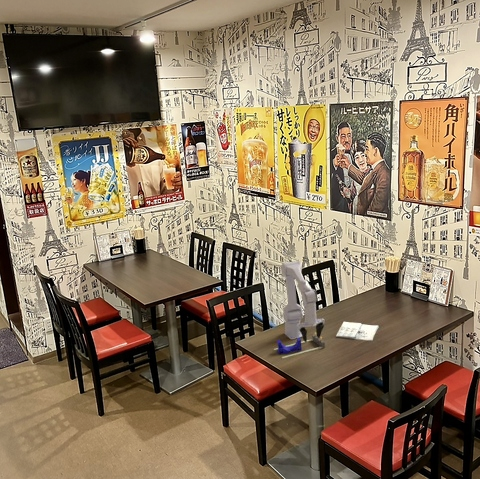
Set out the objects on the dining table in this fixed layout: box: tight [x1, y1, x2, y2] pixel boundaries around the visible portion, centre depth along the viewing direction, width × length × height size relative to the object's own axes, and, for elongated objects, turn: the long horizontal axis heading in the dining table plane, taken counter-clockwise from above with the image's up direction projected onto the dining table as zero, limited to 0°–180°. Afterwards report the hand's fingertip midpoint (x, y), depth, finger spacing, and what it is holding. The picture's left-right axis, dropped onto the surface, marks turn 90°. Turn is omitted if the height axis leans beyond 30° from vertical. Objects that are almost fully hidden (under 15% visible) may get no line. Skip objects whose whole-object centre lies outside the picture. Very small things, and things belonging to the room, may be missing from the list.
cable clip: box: [277, 337, 303, 355], centre depth 258 cm, size 12×4×6 cm, turn 92°
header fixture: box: [273, 331, 326, 360], centre depth 260 cm, size 11×24×5 cm, turn 110°
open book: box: [335, 321, 380, 342], centre depth 273 cm, size 19×20×2 cm
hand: (311, 339), depth 248 cm, fingers open, 7 cm apart
